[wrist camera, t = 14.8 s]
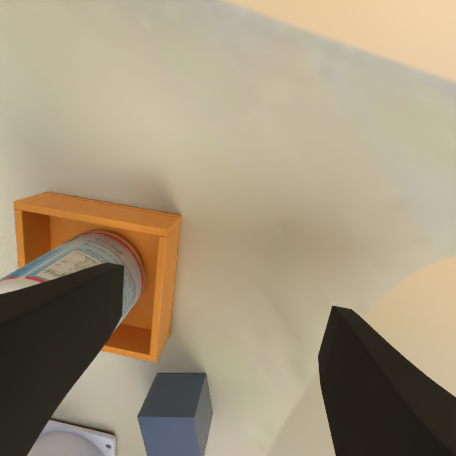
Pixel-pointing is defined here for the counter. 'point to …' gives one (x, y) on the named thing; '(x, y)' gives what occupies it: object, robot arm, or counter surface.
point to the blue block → (176, 415)
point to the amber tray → (127, 229)
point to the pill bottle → (83, 264)
